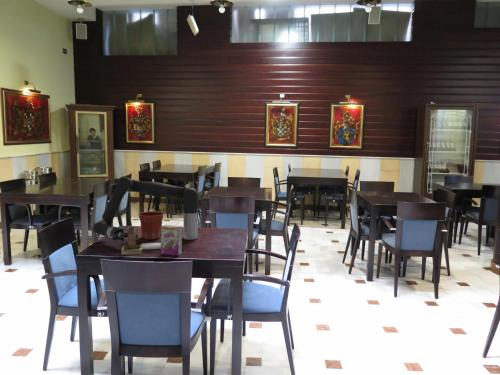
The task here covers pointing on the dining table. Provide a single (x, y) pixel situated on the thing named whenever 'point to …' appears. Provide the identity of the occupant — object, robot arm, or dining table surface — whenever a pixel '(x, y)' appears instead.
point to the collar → (135, 251)
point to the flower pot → (151, 224)
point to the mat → (151, 245)
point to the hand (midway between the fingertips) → (130, 237)
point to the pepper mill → (131, 238)
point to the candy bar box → (171, 240)
